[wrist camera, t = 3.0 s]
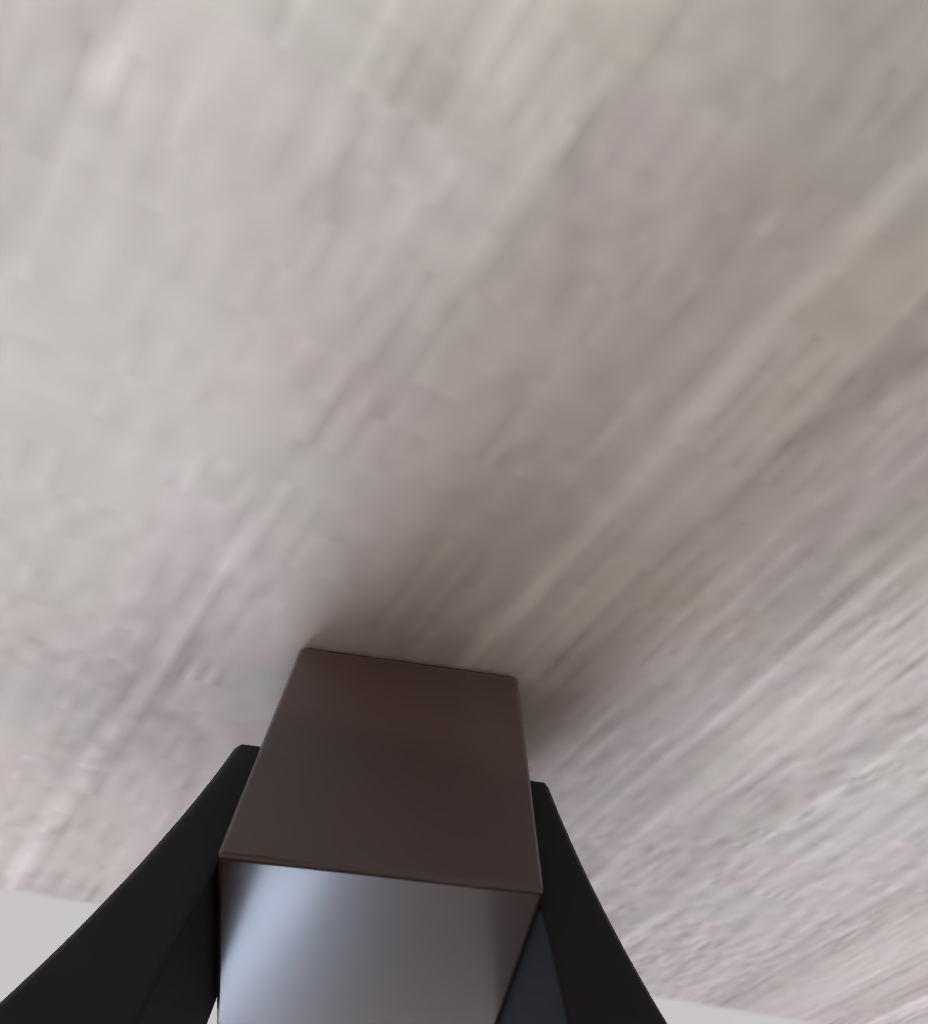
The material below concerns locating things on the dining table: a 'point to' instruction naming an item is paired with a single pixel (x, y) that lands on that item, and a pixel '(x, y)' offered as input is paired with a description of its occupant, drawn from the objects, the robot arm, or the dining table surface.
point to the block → (379, 850)
